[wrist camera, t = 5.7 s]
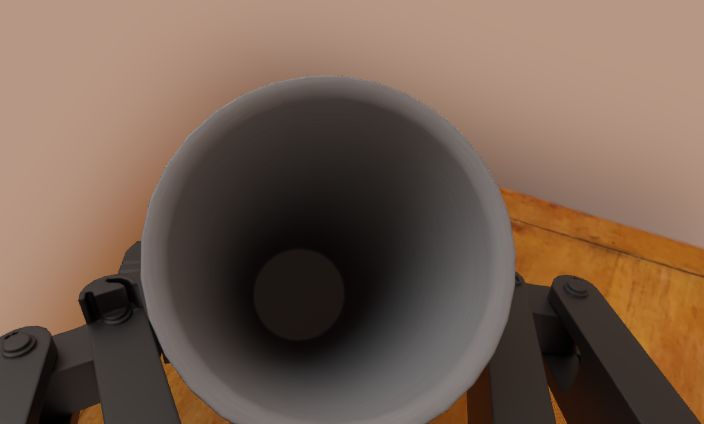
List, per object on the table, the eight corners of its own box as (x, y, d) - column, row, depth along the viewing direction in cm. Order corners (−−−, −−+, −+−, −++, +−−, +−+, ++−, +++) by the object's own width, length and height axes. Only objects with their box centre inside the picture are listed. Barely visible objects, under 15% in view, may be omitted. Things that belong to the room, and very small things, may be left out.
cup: (386, 332, 23) (576, 350, 8) (256, 389, 21) (216, 533, 7) (337, 208, 24) (430, 37, 9) (209, 254, 22) (88, 132, 8)
